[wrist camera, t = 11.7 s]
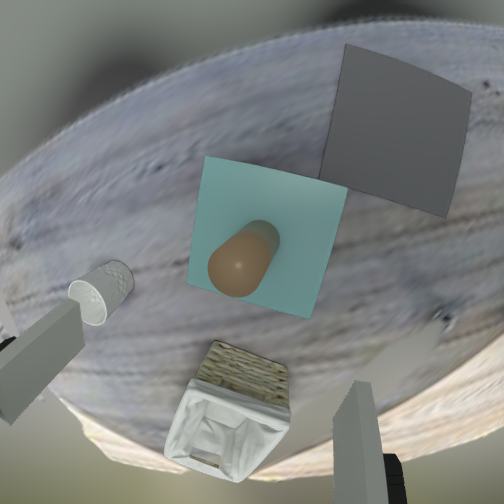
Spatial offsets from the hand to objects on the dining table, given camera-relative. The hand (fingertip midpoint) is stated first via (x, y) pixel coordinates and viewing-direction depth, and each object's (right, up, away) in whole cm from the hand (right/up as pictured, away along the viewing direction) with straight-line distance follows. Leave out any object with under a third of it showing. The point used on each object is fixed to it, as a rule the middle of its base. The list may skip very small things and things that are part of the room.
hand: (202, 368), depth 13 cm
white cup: (-21, +1, +38) cm, 43 cm away
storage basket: (-1, -21, +42) cm, 47 cm away
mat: (+23, +22, +22) cm, 39 cm away
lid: (+3, +7, +18) cm, 20 cm away
